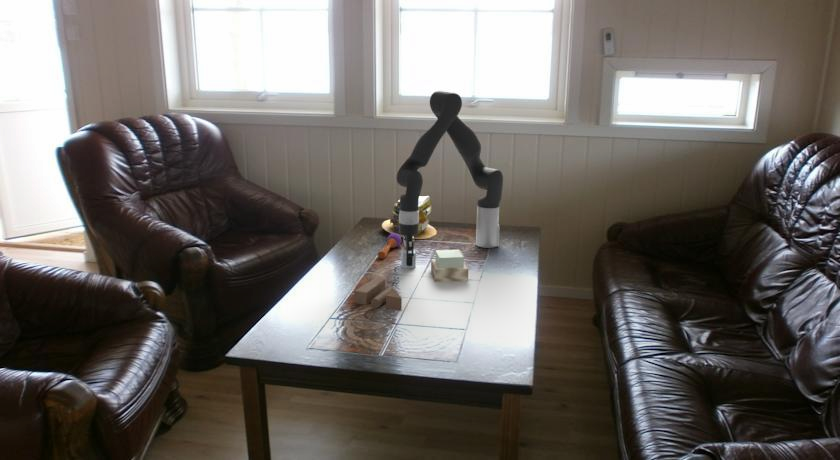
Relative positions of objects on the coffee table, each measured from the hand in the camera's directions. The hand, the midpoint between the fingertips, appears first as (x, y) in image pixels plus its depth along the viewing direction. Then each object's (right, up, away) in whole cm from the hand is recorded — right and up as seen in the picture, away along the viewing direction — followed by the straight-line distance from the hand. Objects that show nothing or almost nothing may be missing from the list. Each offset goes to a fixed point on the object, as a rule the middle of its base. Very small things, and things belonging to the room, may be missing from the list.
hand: (408, 262), depth 253 cm
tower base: (+15, -5, -9) cm, 19 cm away
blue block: (0, -1, 0) cm, 1 cm away
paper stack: (0, +11, +46) cm, 47 cm away
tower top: (+15, 0, -11) cm, 19 cm away
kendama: (-8, +3, +18) cm, 20 cm away
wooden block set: (-6, -11, -32) cm, 34 cm away
